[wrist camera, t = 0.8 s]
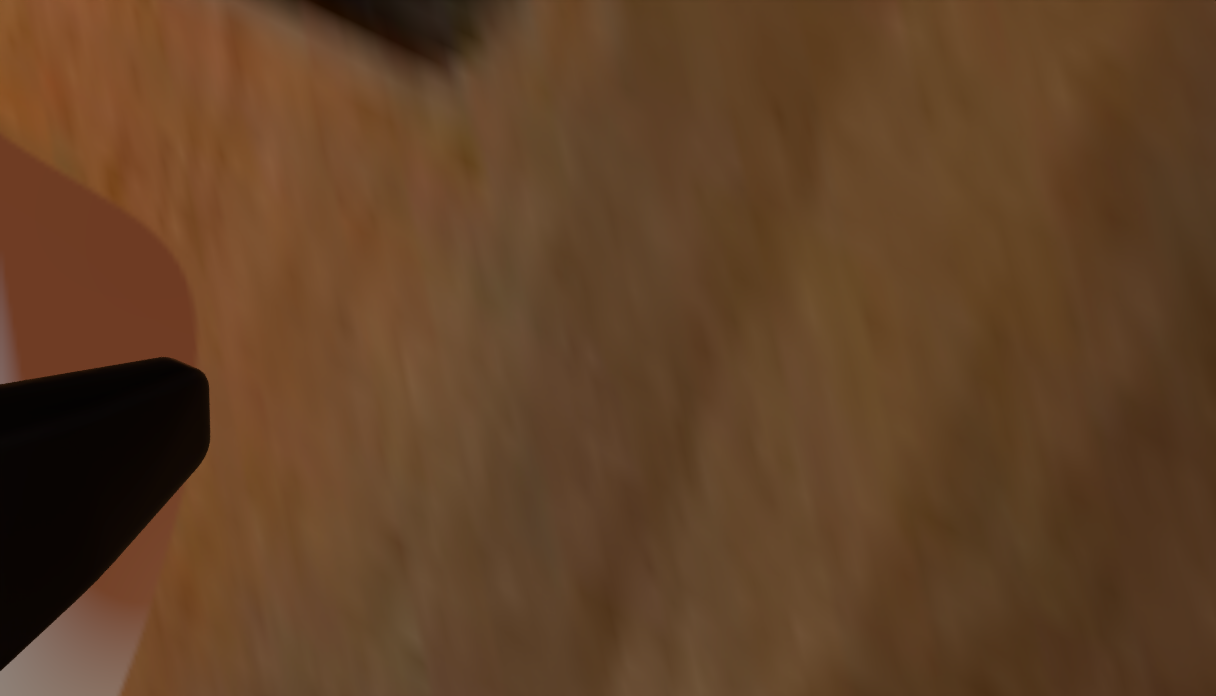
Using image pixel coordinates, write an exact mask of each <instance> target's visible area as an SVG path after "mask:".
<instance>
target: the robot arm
mask: <svg viewBox="0 0 1216 696" xmlns="http://www.w3.org/2000/svg"><path fill="white" fill-rule="evenodd" d="M209 443H210V408H209V383H208V380H207V378H206V376H205V374H204V373H203V372H201V371H200V370H199V369H197V368H194V367H192V366H190V365H187V364H185V363H182V362H180V361H178V360H176V359H172V358H168V357H159V358H153V359H147V360H142V361H136V362H130V363H124V364H118V365H112V366H106V367H101V368H94V369H88V370H83V371H77V372H71V373H65V374H59V375H54V376H47V377H42V378H36V379H30V380H24V381H19V382H12V383H6V384H0V671H1V670H2V669H3V668H4V667H5V666H6V665H7V664H9V663H10V662H11V661H12V660H13V659H14V658H15V657H16V656H17V655H18V654H19V653H20V652H22V650H24V649H25V648H26V647H27V646H28V645H29V644H30V643H31V642H32V641H33V640H34V639H35V638H37V637H38V636H39V635H40V634H41V633H42V632H43V631H44V630H45V629H46V628H47V627H48V626H49V625H51V624H52V623H53V622H54V621H55V620H56V619H57V618H58V617H59V616H60V615H61V614H62V613H63V612H64V611H66V610H67V609H68V608H69V607H70V606H71V605H72V604H73V603H74V602H75V601H76V600H77V599H78V598H79V597H80V596H81V595H82V594H84V593H85V592H86V591H87V590H88V588H90V587H91V586H92V585H93V584H94V583H95V582H96V581H97V580H98V579H99V578H100V576H101V575H102V574H103V573H104V572H105V571H106V570H107V569H108V568H109V567H110V566H111V565H112V563H114V562H115V560H116V559H117V558H118V557H119V556H120V555H121V554H122V552H123V551H124V550H125V549H126V548H127V547H128V546H129V545H130V543H131V542H132V541H133V540H134V539H135V538H136V537H137V536H138V534H139V533H140V532H141V531H142V530H143V529H144V528H145V526H146V525H147V524H148V523H149V522H150V521H151V519H153V517H154V516H155V515H156V514H157V513H158V512H159V511H160V509H161V508H162V507H163V506H164V505H165V504H166V503H167V502H168V500H169V499H170V498H171V497H172V496H173V495H174V493H176V491H177V490H178V489H179V488H180V487H181V486H182V485H183V483H184V482H185V481H186V480H187V479H188V478H189V477H190V476H191V474H192V473H193V472H194V471H195V470H196V469H197V468H198V466H199V465H200V464H201V462H202V461H203V459H204V457H205V455H206V453H207V451H208V447H209Z"/></svg>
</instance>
